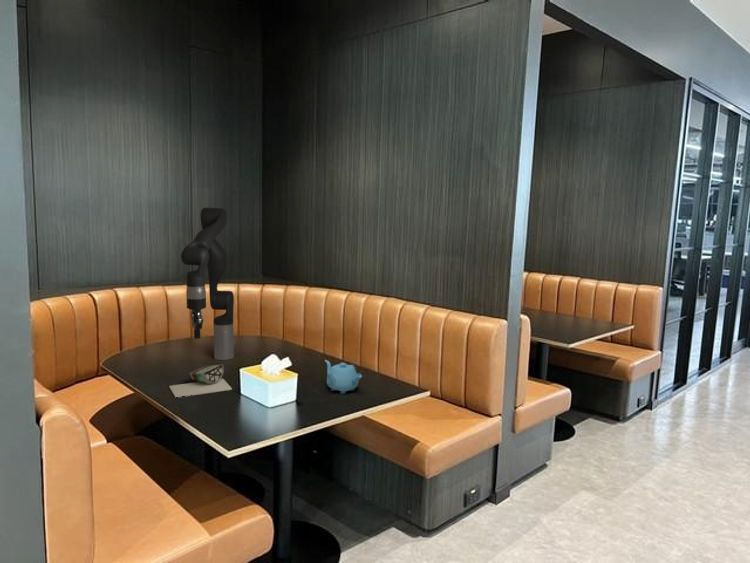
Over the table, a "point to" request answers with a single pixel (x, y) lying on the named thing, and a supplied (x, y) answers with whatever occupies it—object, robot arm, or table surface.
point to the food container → (208, 374)
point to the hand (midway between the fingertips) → (197, 338)
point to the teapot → (342, 377)
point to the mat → (199, 388)
